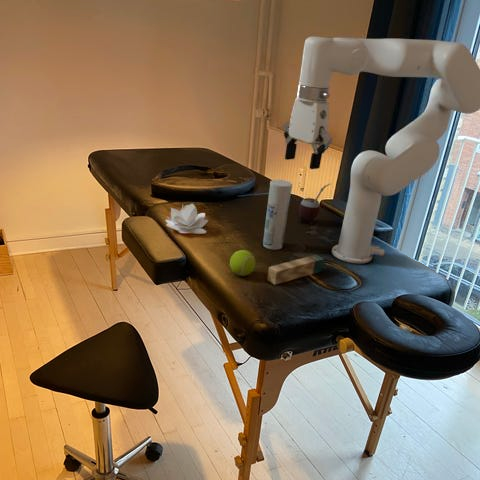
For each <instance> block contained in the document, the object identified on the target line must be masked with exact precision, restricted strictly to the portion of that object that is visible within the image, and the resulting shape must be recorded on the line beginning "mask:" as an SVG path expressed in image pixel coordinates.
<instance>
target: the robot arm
mask: <svg viewBox="0 0 480 480" xmlns="http://www.w3.org/2000/svg"><path fill="white" fill-rule="evenodd" d="M362 72H364V73H371V74H375V75H378V76H384V77H392V78H430V79H431V78H433V79H437V80H436V81H434V83H433V84H432V86H431V88H430V93H429V97H428V102H427V104H426V107H425V109H424V111H423V112H422V113H421V114H420V115H419V116H418V117H416V118H415V119H414V120H413V121H411V122H409V123H408V124H407V125H406V126H404V127H403V128H401V129H400V130H398V131H397V132H396V133H394V134H393V135H391V137H390V138H389V139H388V140H387V141H386V143H385V146H384V147H385V148H384V151H385V154H384V153H381V152H379V151H376V150H371V149H370V150H365V151H362V152H360V153H359V154H357V156H355V158H354V160H353V162H352V164H351V168H350V183H349V185H350V186H349V193H348V198H347V203H346V207H345V208H346V209H345V212H344V216H343V221H342V226H341V230H340V235H339V238H338V244H336V245H334V246H332V248H331V254H332V256H334V257H335V258H336V259H338V260H340V261H343V262H347V263H350V264H366V263H367V264H368V263H369V262H371V261H372V259H373V256H374V255H377V256H382V257H383V256H385V251H386V250H385V249H383V248H380V246H376V245H375V246H374V245H373V244H372V239H373V235H374V232H375V227H376V223H377V219H378V215H379V212H380V207H381V203H382V196H383V197H390V196H393V195H396V194H398V193H400V192H401V191H402V190H404V189H405V188H407V187H408V186H410V185H411V184H413V183H414V182H416V181H417V180H418V179H420V178H421V177H423V176H424V175H425V174H426V173H428V172H429V171H430V170H431V169H432V168H433V167H434V166H435V165H436V163H437V161H438V159H439V156H440V152H441V150H440V145H439V143H438V141H439V140H440V139H441V138H442V137H443V136H444V135H445V133H446V132H447V129H448V128H449V127H448V126H449V123H450V118H451V116H452V111H453V112H456V113H460V114H467V115H469V114H474V113H477V112H478V111H479V110H480V67H479V65H478V62H477V61H476V59H475V57H474V55H473V54H472V53H471V51H470V50H469V48H468V47H467V46H466V45H465V44H464V43H462V42H455V41H445V40H434V39H415V38H414V39H412V38H411V39H410V38H361V37H360V38H357V37H340V36H339V37H338V36H337V37H333V38H329V37H324V36H323V37H322V36H308V37H307V38H306V39H305V41H304V45H303V53H302V60H301V68H300V74H299V82H298V88H297V96H296V98H295V100H294V103H293V107H292V111H291V115H290V120H289V121H288V122H286V123H283V125H282V129H283V137H284V138H285V140H284V141H285V144H286V147H285V154H284V159H285V160H295V158H296V152H297V146H298V145H297V141H299V142H302V143H305V144H308V145H311V147H312V150H313V152H311V156H310V160H309V161H310V162H309V169H310V170H318V169H320V167H321V161H322V157H323V154H324V153H325V152H326V151H327V150H328V149H329V147H330V145H331V143H332V142H333V137H332V136H331V135H330V134H329V132H328V128H329V119H330V103H329V102H327V101H328V99H329V98H330V96H331V94H330V92H329V90H330V85H331V80H332V79H331V78H332V74H333V73H339V74H342V75H346V76H354V75H358V74H359V73H362Z"/></svg>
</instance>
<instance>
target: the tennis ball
mask: <svg viewBox="0 0 480 480" xmlns="http://www.w3.org/2000/svg"><path fill="white" fill-rule="evenodd" d="M256 264H257V262H256V258H255V256H254V255H253V253H252V252H250V251H248V250H246V249H240V250H237V251H235V252H233V253H232V255H231V257H230V259H229V266H230V269H231V271H232V272H233V273H234V274H235V275H237V276H240V277H245V276H249V275H250V274H251V273H253V272H254V270H255V268H256Z"/></svg>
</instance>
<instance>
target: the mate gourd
mask: <svg viewBox="0 0 480 480" xmlns="http://www.w3.org/2000/svg"><path fill="white" fill-rule="evenodd" d="M330 185H332V184H331V182H330V183H327V184H325V185H324V186H323V187H321V189H320V190H319V192H318V194H317V196H316V197H315V198H311V197H306V198H305V197H304V198H303V199H302V201H301V202H300V204H299V209H298V211H299V216H300V221H299V223H300V224H305V223H307V224H308V225H310V226H313V225H314V222H316V218H317V216H318V215H319V213H320V209H321V204H320V201H319V200H318V199H319V198H320V195H321V193H322V192H323V191H324V189H325V188H327V187H328V186H330Z"/></svg>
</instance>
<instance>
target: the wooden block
mask: <svg viewBox="0 0 480 480" xmlns="http://www.w3.org/2000/svg"><path fill="white" fill-rule="evenodd" d="M324 262H325V258H324V257H322V256H319V255H318V254H313V255H308V256H305V257H302V258H298V259H294V260H290V261H286V262H281V263H279V264H275V265H271V266H269V267H268V272H267V277H266V279H267V282H270V283H271V284H273V285H274V286H277V285H279V284H282V283H283V284H284V283H287V282H289V281H293V280H297V279H300V278H303V277H306V276H310V275H315V274H318V273H322V272H323V267H324Z"/></svg>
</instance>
